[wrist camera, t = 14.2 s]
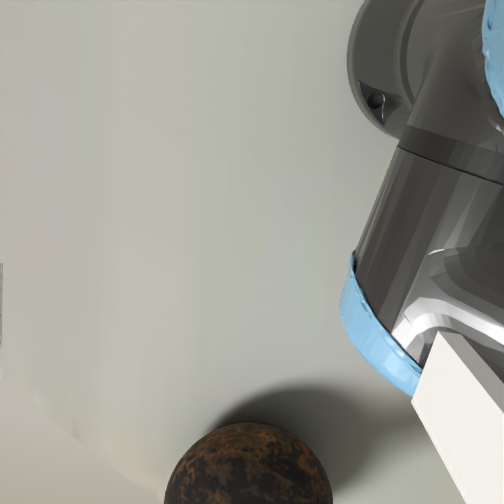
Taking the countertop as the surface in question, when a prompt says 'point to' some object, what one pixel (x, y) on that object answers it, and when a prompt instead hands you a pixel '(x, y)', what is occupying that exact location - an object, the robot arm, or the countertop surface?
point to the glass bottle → (249, 469)
